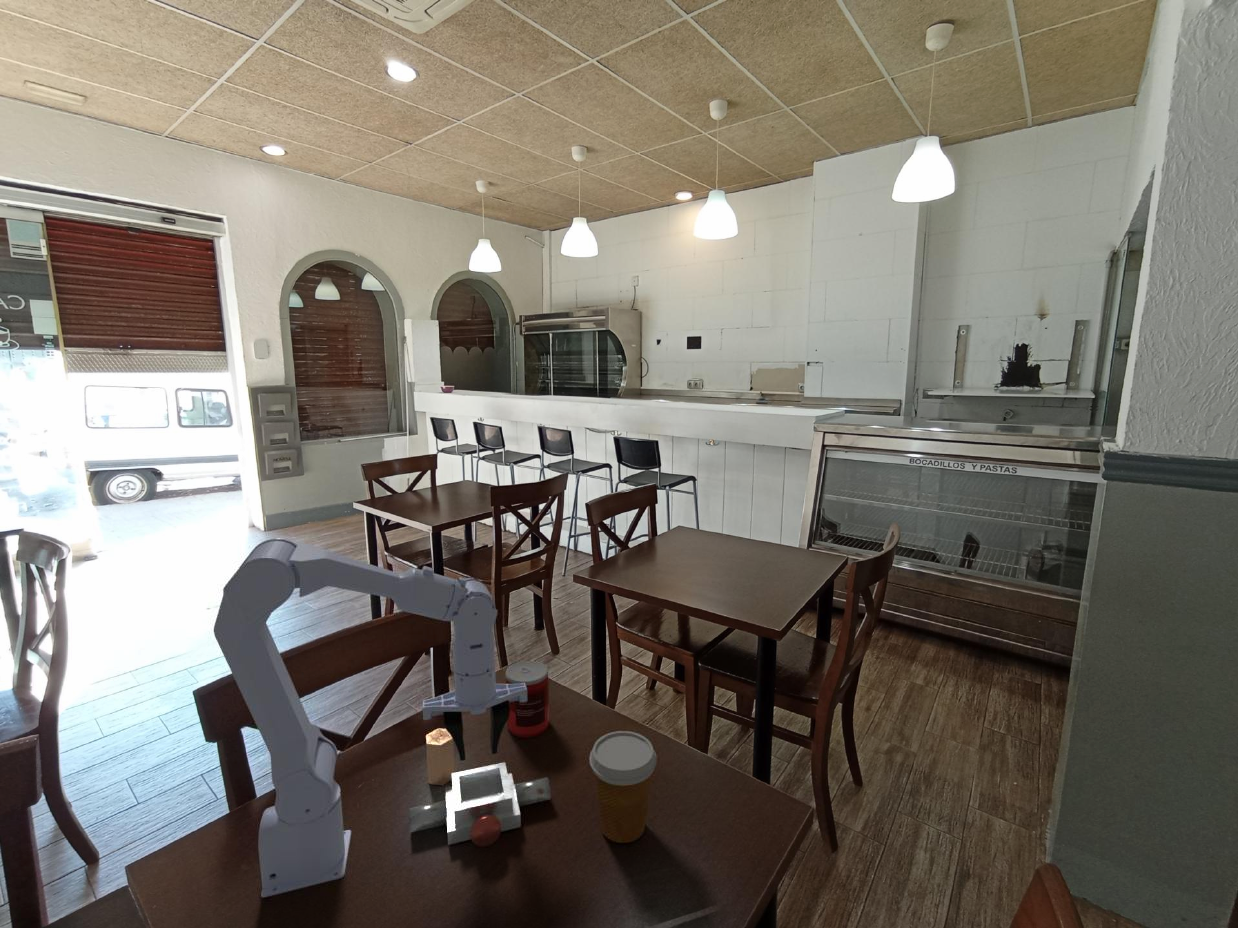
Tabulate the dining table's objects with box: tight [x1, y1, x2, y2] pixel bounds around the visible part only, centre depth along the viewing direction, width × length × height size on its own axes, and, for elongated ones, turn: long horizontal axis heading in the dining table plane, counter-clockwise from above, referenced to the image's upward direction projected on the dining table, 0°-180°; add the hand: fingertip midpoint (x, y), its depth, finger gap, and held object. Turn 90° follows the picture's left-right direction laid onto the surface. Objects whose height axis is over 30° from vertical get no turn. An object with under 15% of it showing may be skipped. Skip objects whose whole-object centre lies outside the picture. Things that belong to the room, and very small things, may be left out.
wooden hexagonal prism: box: [425, 727, 456, 786], centre depth 91 cm, size 4×5×7 cm
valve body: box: [408, 762, 552, 847], centre depth 82 cm, size 20×11×4 cm, turn 109°
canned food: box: [505, 660, 550, 739], centre depth 104 cm, size 8×8×11 cm
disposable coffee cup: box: [588, 730, 658, 844], centre depth 80 cm, size 10×10×12 cm
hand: (478, 752), depth 83 cm, fingers open, 4 cm apart
